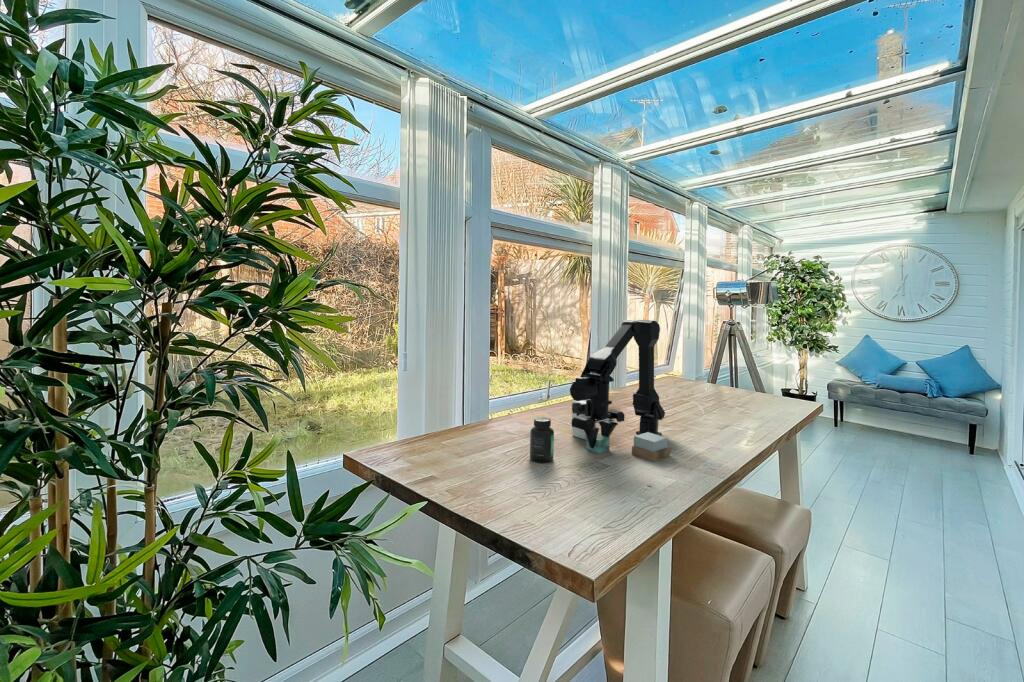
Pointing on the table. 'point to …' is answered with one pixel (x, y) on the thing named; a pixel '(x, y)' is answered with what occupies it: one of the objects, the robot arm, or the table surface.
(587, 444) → the teal cube
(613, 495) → the table surface
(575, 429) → the skincare box
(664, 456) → the walnut base block
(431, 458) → the table surface
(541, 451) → the supplement bottle
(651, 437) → the slate-grey top block
